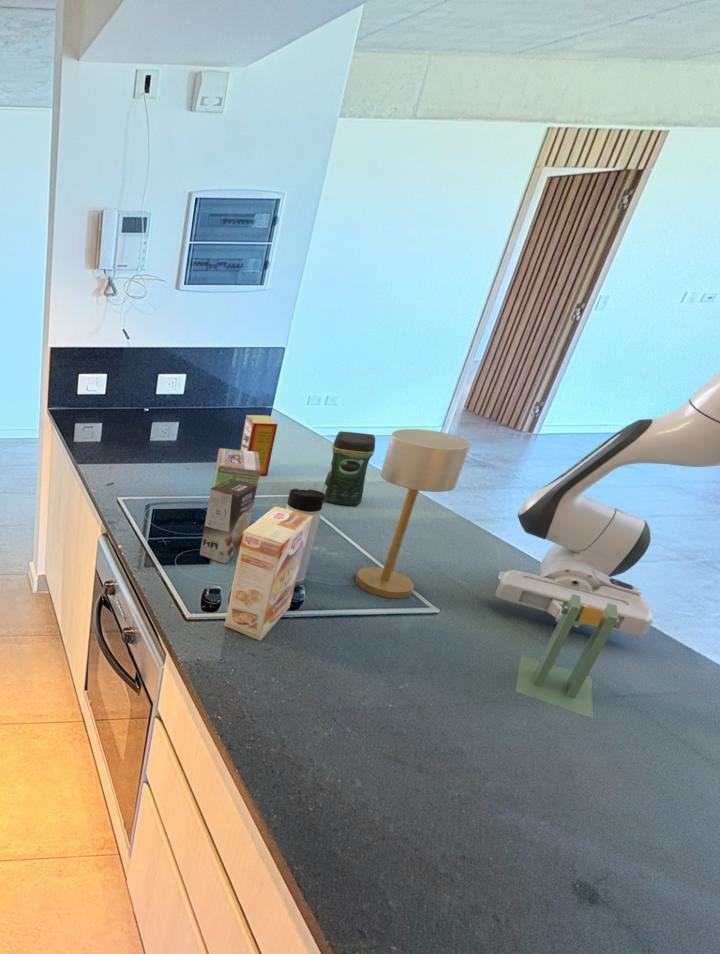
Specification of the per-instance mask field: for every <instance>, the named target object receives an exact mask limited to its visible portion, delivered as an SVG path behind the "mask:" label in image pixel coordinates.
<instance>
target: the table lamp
mask: <svg viewBox="0 0 720 954" xmlns="http://www.w3.org/2000/svg"><path fill="white" fill-rule="evenodd" d="M470 446H471V443H470V441H468V440H467V439H465V438H464V437H461V436H457V435H454V434H451V433H447V432H442V431H437V430H430V429H418V428H406V429H405V428H404V429H398V430H394V431H393V432H392V433H391V437H390V440H389V444H388V447H387V450H386V454H385V457H384V460H383V464H382V467H381V470H380V475H379V476H380V477H381V478H382V479H383V480H384V481H385V482H388V483H390V484H392V485H394V486H398V487H401V488H404V489H408V491H407V494H406V496H405V499H404V503H403V506H402V509H401V513H400V515H399V518H398V521H397V525H396V527H395V528H396V529H395V531H394V534H393V537H392V540H391V544H390V547H389V550H388V553H387V556H386V560H385V563H384V566H383V567H376V566H374V567H373V566H369V567H363V568H360V569H359V570H358V571H357V572H356V576H355V583H356V584H357V585H358V587H360V588H361V589H362V590H364V591H366V592H368V593H370V594H372V595H375V596H378V597H381V598H382V597H383V598H387V599H405V598H407V597H409V596H411V595H412V593H413V590H414V587H415V585H414V582H413V581H412V580H411V579H410V578H409V577H407V576H406V575H404V574H402V573H400V572H398V571H395V570H394V568H395V565H396V562H397V559H398V555H399V553H400V550H401V547H402V543H403V540H404V537H405V534H406V532H407V528H408V525H409V522H410V519H411V516H412V513H413V509H414V507H415V504H416V499H417V498H418V494H419V492H429V493H444V492H451V491H452V490H455V488H456V486H457V484H458V481H459V479H460V475H461V472H462V469H463V467H464V464H465V461H466V458H467V455H468V452H469V450H470Z"/></svg>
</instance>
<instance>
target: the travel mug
mask: <svg viewBox="0 0 720 954" xmlns="http://www.w3.org/2000/svg"><path fill="white" fill-rule="evenodd" d="M324 497H325V494H324V493H322V491H319V490H316V489H299V488H292V489H290V490H289V494H288V499H287V502H286V506H285V509H288V510H292V511H296V512H300V513H303V514H307V515H310V516H313V518H312V521H311V524H310V528H309V532H308V536H307V540H306V544H305V548H304V551H303V555H302V559H301V563H300V567H299V571H298V575H297V579H296V583H295V585H299V586H301V585H303V584H304V582H305V578H306V574H307V570H308V567H309V562H310V559H311V553H312V550H313V546H314V542H315V538H316V534H317V531H318V528H319V527H318V526H319V523H320V518H321V516H322V515H321V514H322V510H323V504H324V502H325V500H324Z"/></svg>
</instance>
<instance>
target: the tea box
mask: <svg viewBox="0 0 720 954" xmlns="http://www.w3.org/2000/svg"><path fill="white" fill-rule="evenodd" d="M216 457H217V458H216V463H215V468H214V472H213V473H214V474H213V478H212V485H211V488H212V487H215V486H217V485H219V484H221V483H223V482H225V481H227V480H229V479H234V480H237V481H243V482H247V483H250V484H254V485H257V487H259V486H258V485H259V480H260V477H261V476H260V461H259V453H258V452H252V451H242V450H240V449H231V448H224V447H223V448H221V447H220V448H218V453H217V456H216Z"/></svg>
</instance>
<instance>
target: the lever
mask: <svg viewBox="0 0 720 954" xmlns="http://www.w3.org/2000/svg"><path fill="white" fill-rule="evenodd" d="M603 613H604V611H601V610H597V609H593V608H590V607H588V606H587V605H585V604H582V603H581V609H580V611H579V613H578V615H577V617H576V619H575V621H574V623H573V625H579V626H583V625H589V626H591V627H598V625H599V623H600V620H601V618H602V615H603Z"/></svg>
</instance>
